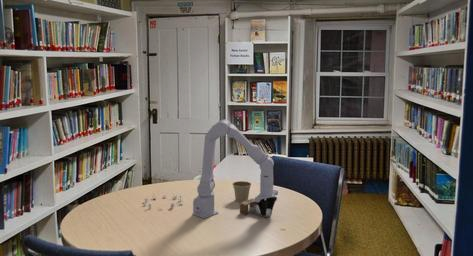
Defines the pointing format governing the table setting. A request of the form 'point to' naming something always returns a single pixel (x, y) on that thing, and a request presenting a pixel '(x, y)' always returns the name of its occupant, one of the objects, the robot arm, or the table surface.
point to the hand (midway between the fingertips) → (266, 213)
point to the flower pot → (241, 190)
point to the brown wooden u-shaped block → (246, 206)
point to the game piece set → (163, 197)
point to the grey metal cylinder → (256, 210)
